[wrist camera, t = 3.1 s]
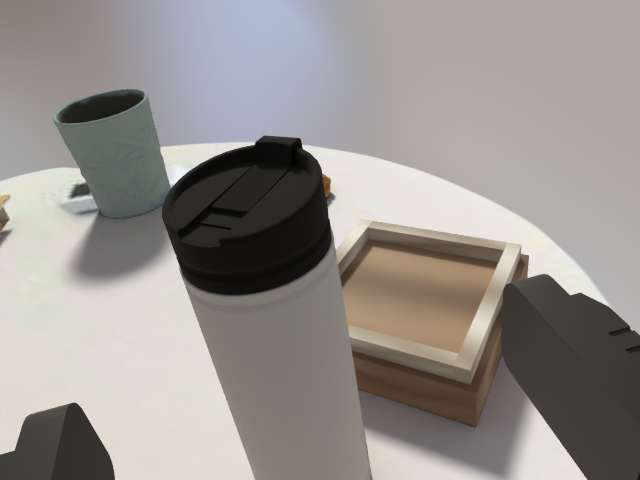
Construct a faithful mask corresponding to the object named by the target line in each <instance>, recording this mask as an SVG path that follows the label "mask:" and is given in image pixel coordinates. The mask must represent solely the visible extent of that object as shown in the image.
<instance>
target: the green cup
mask: <svg viewBox="0 0 640 480" xmlns="http://www.w3.org/2000/svg"><path fill="white" fill-rule="evenodd" d="M53 121H54V123H55V125H56V126H57V128H58V130H59V132H60V134H61V136H62V138H63V140H64V142H65V144H66V145H67V147H68V149H69V150H70V152H71V154H72V155H73V158H74V159H75V160H76V163H77V165H78V166H79V167H80V171H81V174H82V176H83V177H84V179H85V180H86V183H87V184H88V186H89V188H90V191H91V194H92V196H93V198H94V201H95V203H96V205H97V206H98V208H99V210H100V212H101V213H102V214H103V215H104V216H106V217H110V218H128V217H133V216H137V215H141V214H144V213H146V212H149V211H151V210H153V209H155V208H157V207H158V206H160V205H161V204H163V203H164V201H165V198H166V196H167V195H168V193H169V191H170V190H171V189H170V184H169V180H168V177H167V174H166V169H165V165H164V161H163V157H162V155H161V152H160V144H159V141H158V136H157V133H156V129H155V125H154V121H153V118H152V112H151V108H150V103H149V100H148V95H147V93H146V92H144V91H143V90H140V89H117V90H109V91H104V92H100V93H96V94H93V95H89V96H86V97H83V98H80V99H77V100H75V101H73V102H70V103H68V104H67V105H65V106H63V107H61V108H60V109H59V110H57V112H56V113H55V115H54V117H53Z"/></svg>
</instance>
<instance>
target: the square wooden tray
mask: <svg viewBox="0 0 640 480" xmlns="http://www.w3.org/2000/svg"><path fill="white" fill-rule="evenodd" d="M336 255H337V261H338V267H339V274H340V280H341V286H342V293H343V299H344V305H345V312H346V318H347V324H348V330H349V337H350V343H351V349H352V356H353V362H354V368H355V375H356V381H357V387H358V389H361V390H364V391H367V392H370V393H373V394H376V395H379V396H382V397H385V398H388V399H391V400H394V401H397V402H400V403H403V404H407V405H410V406H413V407H416V408H419V409H422V410H425V411H428V412H431V413H434V414H437V415H440V416H443V417H446V418H449V419H453V420H456V421H459V422H462V423H465V424H468V425H471V426H474V427H476V425H477V423H478V420H479V417H480V414H481V411H482V409H483V406H484V403H485V400H486V398H487V395H488V392H489V389H490V386H491V384H492V381H493V378H494V375H495V373H496V370H497V367H498V364H499V361H500V359H501V356H502V348H501V325H502V301H503V289H504V287H505V285H506V284H508V283H512V282H516V281H519V280H523V279H527V273H528V261H529V255H523V254H521V245H519V244H513V243H507V242H500V241H494V240H488V239H482V238H476V237H469V236H463V235H457V234H451V233H444V232H438V231H432V230H426V229H419V228H413V227H407V226H401V225H394V224H388V223H382V222H376V221H369V220H363V219H362V220H361V221H360V222H359V223H358V224H357V226H356V227H355V228H354V229H353V230H352V232H351V233H350V234H349V235H348V237H347V238H346V239H345V240H344V241H343V243H342V244H341V245H340V246H339V247H338V249H337V250H336Z"/></svg>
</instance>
